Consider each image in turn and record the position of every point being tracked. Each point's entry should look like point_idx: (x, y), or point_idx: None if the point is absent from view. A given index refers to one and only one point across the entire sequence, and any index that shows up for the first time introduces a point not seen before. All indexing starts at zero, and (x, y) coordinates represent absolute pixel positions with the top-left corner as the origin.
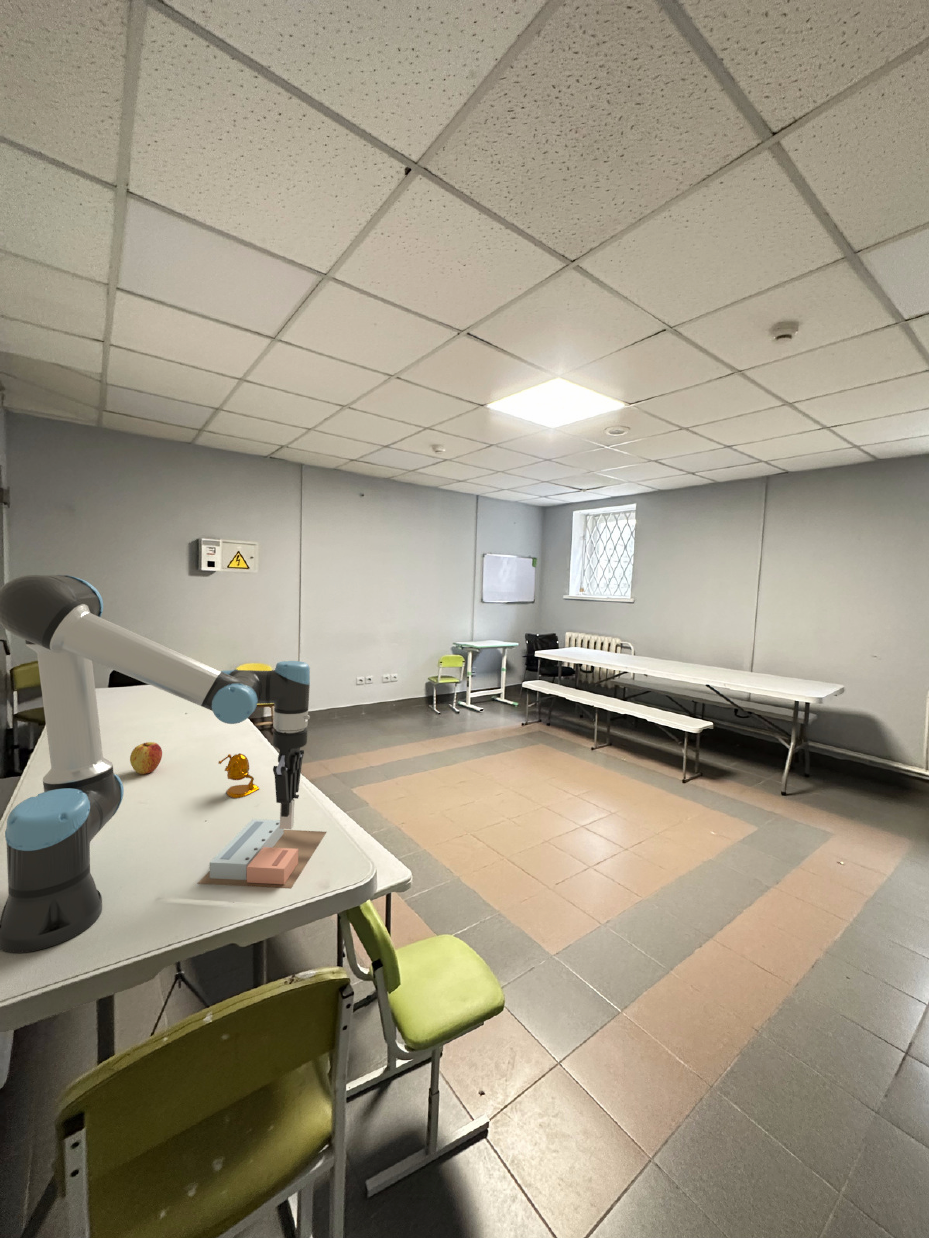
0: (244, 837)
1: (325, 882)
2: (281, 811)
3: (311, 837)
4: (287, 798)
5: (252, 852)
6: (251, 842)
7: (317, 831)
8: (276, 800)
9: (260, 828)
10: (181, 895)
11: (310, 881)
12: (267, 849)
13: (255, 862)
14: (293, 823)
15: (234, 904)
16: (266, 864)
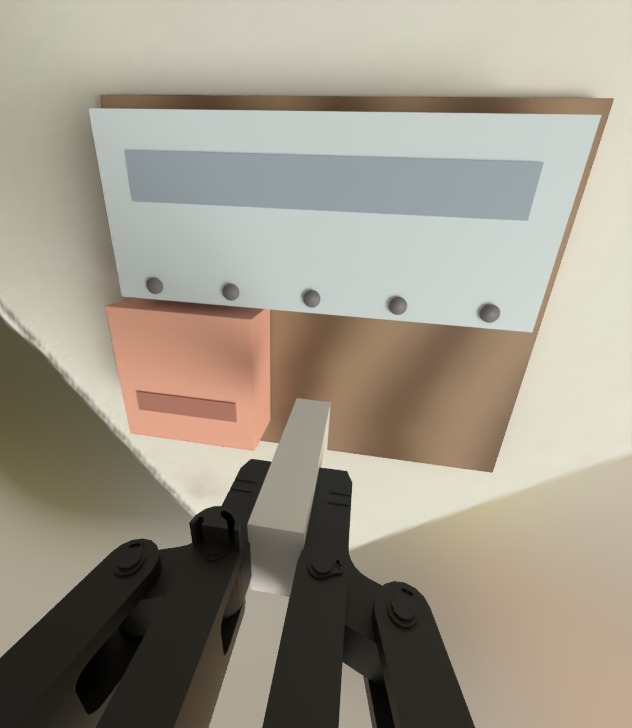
0: (332, 182)
1: (214, 488)
2: (231, 486)
3: (450, 429)
4: (117, 651)
5: (206, 286)
6: (286, 245)
7: (500, 441)
8: (99, 564)
9: (440, 233)
10: (54, 62)
11: (212, 455)
12: (235, 342)
13: (139, 328)
14: (324, 462)
15: (75, 289)
16: (138, 371)
